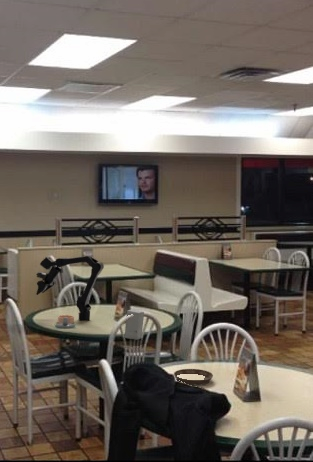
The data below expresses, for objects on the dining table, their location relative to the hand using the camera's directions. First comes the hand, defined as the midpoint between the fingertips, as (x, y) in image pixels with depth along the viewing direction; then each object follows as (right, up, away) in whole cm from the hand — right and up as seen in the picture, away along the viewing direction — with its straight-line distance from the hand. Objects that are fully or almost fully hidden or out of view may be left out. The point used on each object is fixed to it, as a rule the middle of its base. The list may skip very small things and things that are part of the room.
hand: (39, 293), depth 407 cm
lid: (+21, -17, -28) cm, 39 cm away
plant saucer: (+93, -27, -124) cm, 157 cm away
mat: (+21, -18, -28) cm, 39 cm away
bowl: (+19, -17, -16) cm, 30 cm away
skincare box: (+63, -21, -48) cm, 82 cm away
